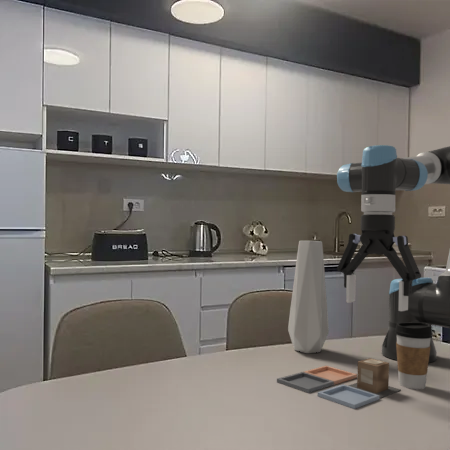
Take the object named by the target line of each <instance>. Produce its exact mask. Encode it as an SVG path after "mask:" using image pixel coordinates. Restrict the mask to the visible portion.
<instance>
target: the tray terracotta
mask: <svg viewBox="0 0 450 450" xmlns="http://www.w3.org/2000/svg"><path fill="white" fill-rule="evenodd" d="M303 372H305V373H308V374H311V375H315V376H318V377H321V378H324V379H328V380H331V381H334V385H333V386H335V385H338V384H342V383H344V382H347V381H350V380H351V381H352V380H354V379H357V374H358V373H353V372H351V371H347V370H343V369H341V368H336V367H333V366H329V365H323V366H319V367H316V368H312V369H308V370H304V371H303Z"/></svg>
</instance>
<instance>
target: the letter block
mask: <svg viewBox="0 0 450 450" xmlns="http://www.w3.org/2000/svg"><path fill="white" fill-rule="evenodd" d="M356 374H357V378H356V379H357V380H356V381H357V382H356V383H357V388H360V389H364V390H367V391H370V392H373V393H379V392H381V391H384V390H387V389H388V386H389V380H390V378H389V377H390V362H387V361H383V360H379V359H375V358H372V357H371V358H365V359H362V360H358V361H357V373H356Z"/></svg>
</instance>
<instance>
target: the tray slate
mask: <svg viewBox="0 0 450 450" xmlns="http://www.w3.org/2000/svg"><path fill="white" fill-rule="evenodd" d="M316 394H317V395H316V396H317V397H319V398H322V399H324V400H327V401H330V402H333V403H335V404H339V405H341V406H345V407H347V408H350V409H353V410H355V409H358V408H361V407H363V406H365V405H367V404H372V403H374V402H376V401H379V400H380V399H379V395H376V394H373V393H370V392H367V391H363V390H360V389H357V388H354V387H350V386H349V385H346V384H344V383H343V384H342V383H341V384H340V385H336V386H334V387H333V386H332V387H330V388H327V389H324V390H323V389H322V390H320V391H317V393H316Z"/></svg>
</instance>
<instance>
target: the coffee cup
mask: <svg viewBox="0 0 450 450" xmlns="http://www.w3.org/2000/svg"><path fill="white" fill-rule="evenodd" d="M432 326H433V325H431V324H428V323H421V322H405V323H397V324H396V329H395V334H396V335H397V342H396V349H397V360H396V363H397V374H398V385H399V386H401V387H403V388H404V389H405V388H406V389H410V390H411V389H412V390H423V389H424V390H425V389H426V383H427V377H428V375H427V374H428V370H429V369H428V368H429V363H430V362H429V355H430V347H431V346H430V339H431V338H433V334H434V333H433V327H432Z"/></svg>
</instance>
